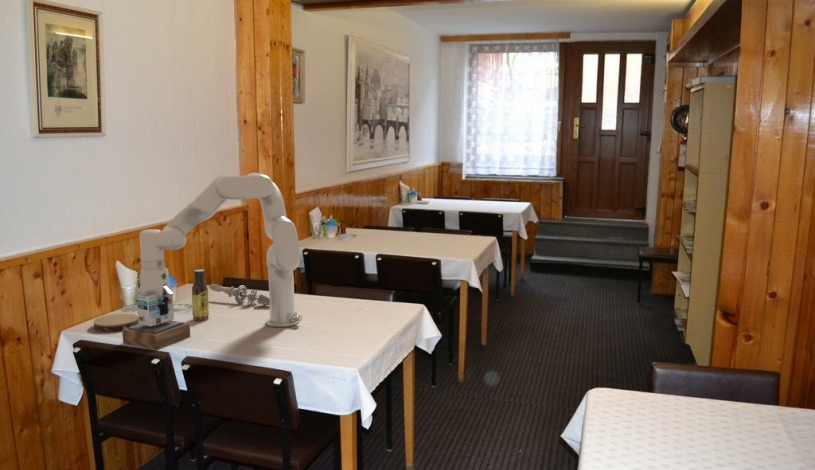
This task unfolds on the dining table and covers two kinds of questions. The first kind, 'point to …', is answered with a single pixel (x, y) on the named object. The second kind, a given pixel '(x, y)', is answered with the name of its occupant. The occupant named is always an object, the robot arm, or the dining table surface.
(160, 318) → the light bulb box
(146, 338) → the walnut base
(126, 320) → the round wood slice
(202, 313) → the sauce bottle
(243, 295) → the spaceship
